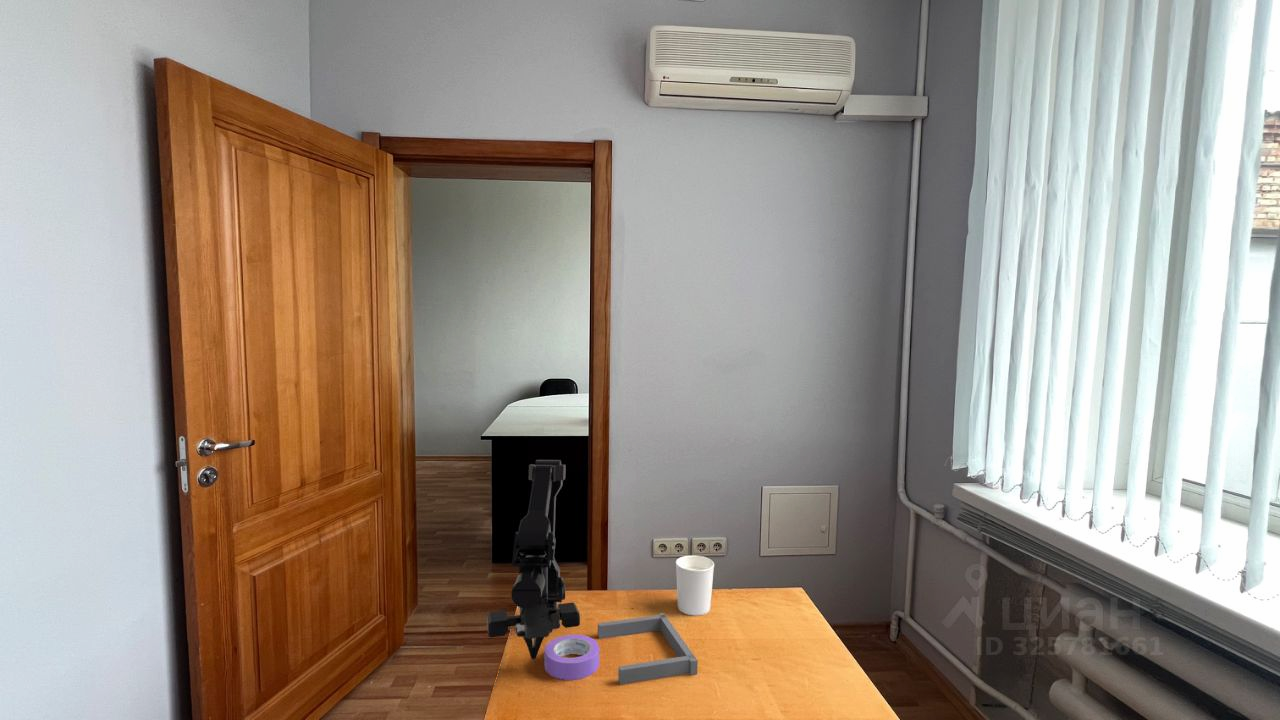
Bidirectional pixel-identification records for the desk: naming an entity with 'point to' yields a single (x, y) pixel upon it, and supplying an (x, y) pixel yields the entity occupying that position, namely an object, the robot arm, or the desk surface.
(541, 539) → the robot arm
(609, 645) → the desk surface
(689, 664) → the grey bay
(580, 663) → the masking tape
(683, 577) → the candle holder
